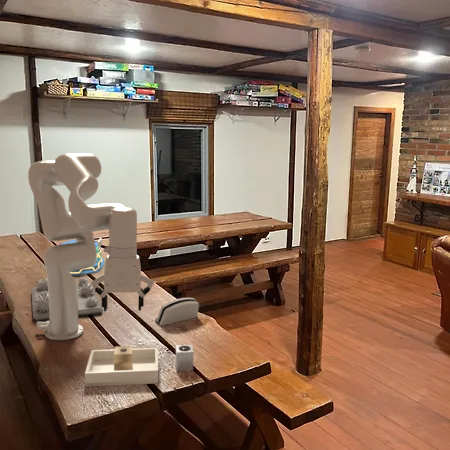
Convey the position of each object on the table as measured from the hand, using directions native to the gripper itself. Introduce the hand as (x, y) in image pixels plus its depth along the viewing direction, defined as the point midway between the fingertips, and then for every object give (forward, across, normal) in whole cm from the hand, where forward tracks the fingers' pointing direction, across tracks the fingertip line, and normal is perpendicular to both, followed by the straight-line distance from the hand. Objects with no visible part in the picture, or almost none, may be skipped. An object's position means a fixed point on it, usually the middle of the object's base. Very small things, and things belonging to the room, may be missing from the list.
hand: (122, 309), depth 130 cm
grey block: (+20, +18, +2) cm, 27 cm away
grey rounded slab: (+20, +18, +38) cm, 46 cm away
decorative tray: (+21, -27, +58) cm, 68 cm away
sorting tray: (+20, 0, 0) cm, 20 cm away
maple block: (+19, 0, 0) cm, 19 cm away
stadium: (+22, -29, +114) cm, 120 cm away
